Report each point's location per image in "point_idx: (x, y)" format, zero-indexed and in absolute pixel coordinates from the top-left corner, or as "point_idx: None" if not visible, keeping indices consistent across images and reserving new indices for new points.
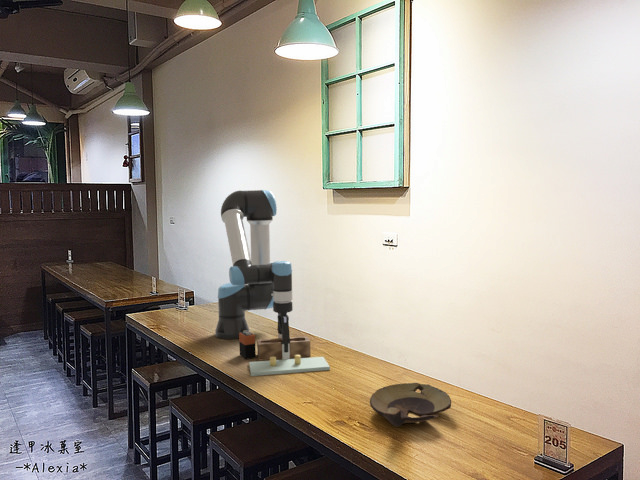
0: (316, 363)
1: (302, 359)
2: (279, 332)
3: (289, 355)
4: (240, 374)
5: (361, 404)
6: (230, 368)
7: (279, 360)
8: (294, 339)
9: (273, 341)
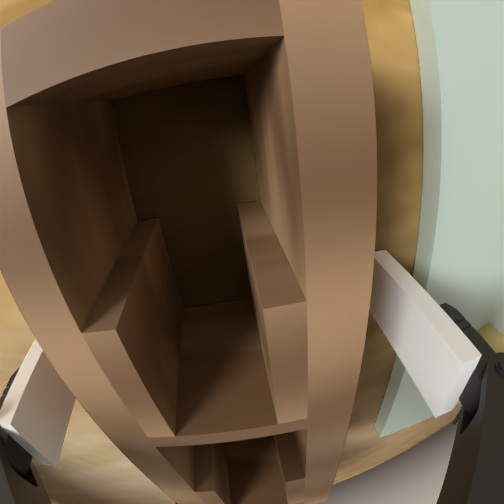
0: None
1: (469, 147)
2: (35, 476)
3: (406, 272)
4: (453, 409)
5: None
6: (379, 453)
7: None
8: (78, 295)
9: (187, 466)
